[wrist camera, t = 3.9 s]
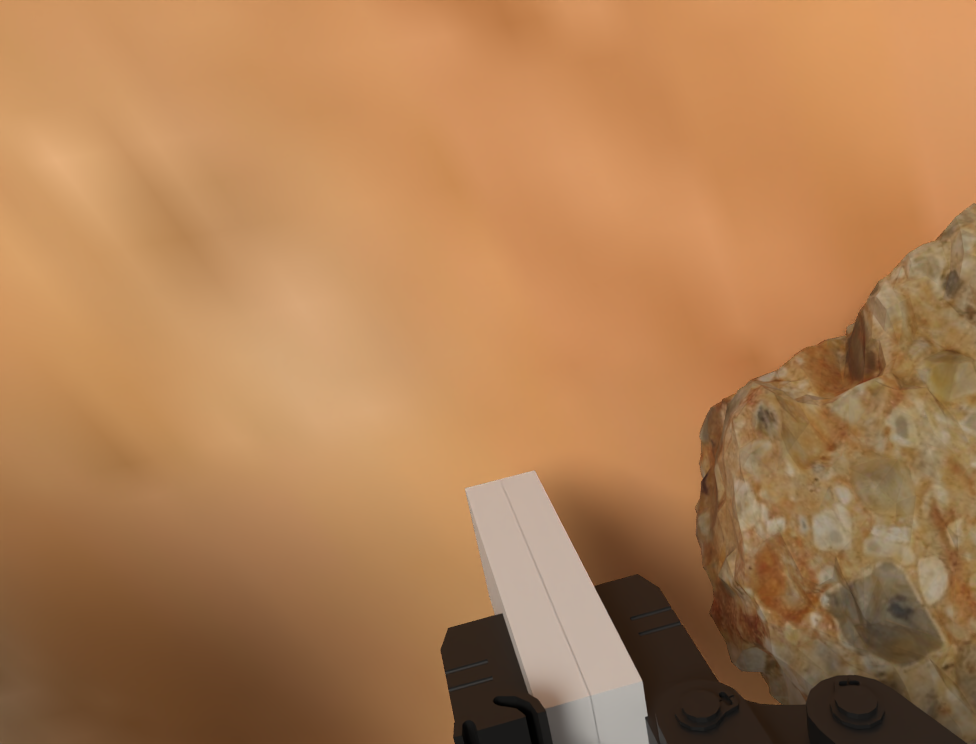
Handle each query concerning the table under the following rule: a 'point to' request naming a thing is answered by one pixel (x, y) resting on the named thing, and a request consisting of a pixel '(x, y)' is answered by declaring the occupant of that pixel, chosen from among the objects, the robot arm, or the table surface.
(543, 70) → the table surface
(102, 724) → the table surface
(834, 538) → the rock
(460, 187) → the table surface
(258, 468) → the table surface
